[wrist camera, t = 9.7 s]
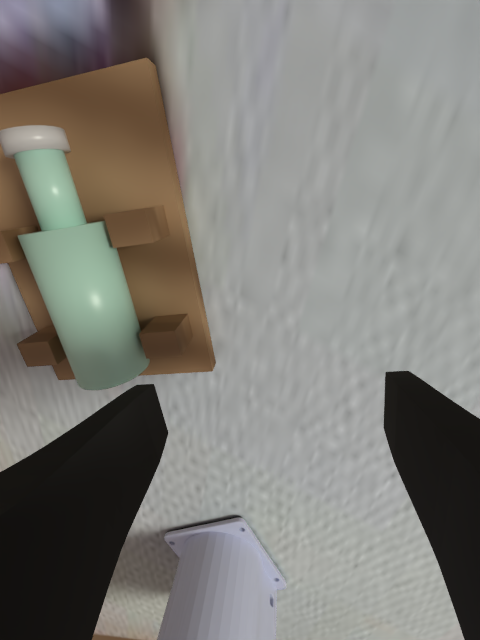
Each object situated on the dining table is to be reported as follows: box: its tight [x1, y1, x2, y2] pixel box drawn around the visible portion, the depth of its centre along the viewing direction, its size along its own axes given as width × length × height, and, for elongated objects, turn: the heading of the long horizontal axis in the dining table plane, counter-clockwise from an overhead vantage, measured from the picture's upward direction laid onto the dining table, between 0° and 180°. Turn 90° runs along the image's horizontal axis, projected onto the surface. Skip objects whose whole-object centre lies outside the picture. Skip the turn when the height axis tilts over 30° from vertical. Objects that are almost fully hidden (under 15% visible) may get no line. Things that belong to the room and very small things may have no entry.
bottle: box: [0, 125, 150, 390], centre depth 16 cm, size 12×4×4 cm, turn 9°
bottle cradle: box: [0, 58, 216, 380], centre depth 17 cm, size 16×11×3 cm
